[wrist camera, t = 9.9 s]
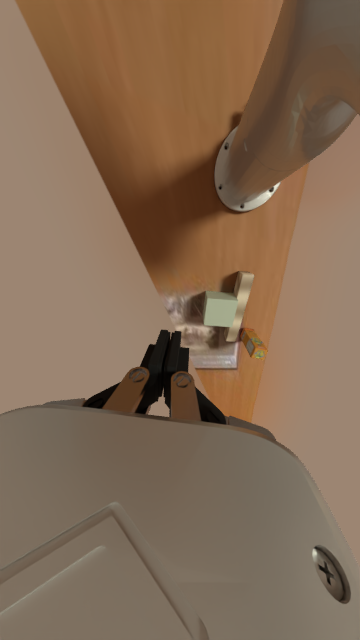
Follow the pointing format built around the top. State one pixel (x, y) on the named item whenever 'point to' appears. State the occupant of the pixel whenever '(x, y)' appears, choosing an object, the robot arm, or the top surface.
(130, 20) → the top surface
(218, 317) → the green block
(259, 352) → the supplement box
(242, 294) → the birch board
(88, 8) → the top surface
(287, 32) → the robot arm
